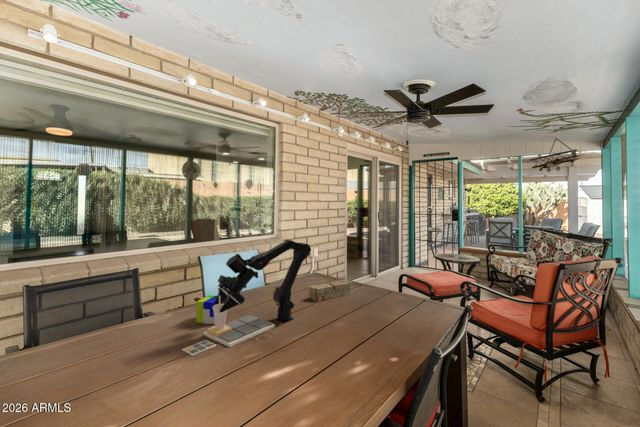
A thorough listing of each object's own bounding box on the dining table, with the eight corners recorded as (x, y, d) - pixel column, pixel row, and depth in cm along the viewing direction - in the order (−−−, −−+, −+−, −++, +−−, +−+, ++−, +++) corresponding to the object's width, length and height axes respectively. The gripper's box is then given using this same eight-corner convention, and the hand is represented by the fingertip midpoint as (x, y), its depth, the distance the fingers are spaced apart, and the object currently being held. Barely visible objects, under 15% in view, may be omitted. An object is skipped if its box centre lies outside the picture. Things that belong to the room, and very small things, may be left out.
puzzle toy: (215, 324, 137) (216, 303, 136) (196, 322, 139) (196, 301, 138) (226, 316, 146) (227, 296, 146) (208, 314, 148) (209, 295, 148)
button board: (249, 318, 146) (249, 313, 145) (274, 326, 136) (274, 322, 136) (203, 335, 125) (204, 330, 125) (229, 347, 115) (229, 342, 115)
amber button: (221, 328, 131) (221, 323, 131) (231, 333, 127) (232, 328, 127) (207, 334, 125) (207, 329, 125) (217, 338, 121) (217, 333, 121)
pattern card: (205, 340, 120) (205, 339, 120) (216, 345, 116) (216, 344, 116) (182, 349, 112) (182, 348, 112) (192, 355, 108) (192, 354, 108)
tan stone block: (316, 303, 173) (352, 294, 191) (316, 289, 173) (352, 281, 191) (308, 299, 180) (344, 290, 197) (308, 286, 179) (344, 278, 197)
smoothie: (219, 324, 130) (220, 292, 130) (230, 327, 128) (231, 295, 127) (208, 329, 125) (209, 296, 125) (220, 332, 122) (220, 299, 122)
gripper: (222, 264, 135) (197, 292, 129) (237, 272, 120) (209, 304, 114) (239, 279, 140) (215, 306, 134) (255, 288, 125) (229, 320, 119)
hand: (216, 308), depth 125 cm, fingers open, 9 cm apart
